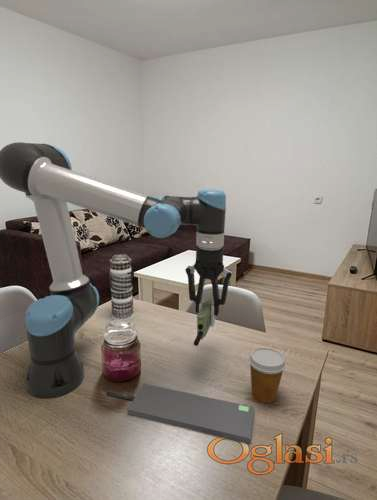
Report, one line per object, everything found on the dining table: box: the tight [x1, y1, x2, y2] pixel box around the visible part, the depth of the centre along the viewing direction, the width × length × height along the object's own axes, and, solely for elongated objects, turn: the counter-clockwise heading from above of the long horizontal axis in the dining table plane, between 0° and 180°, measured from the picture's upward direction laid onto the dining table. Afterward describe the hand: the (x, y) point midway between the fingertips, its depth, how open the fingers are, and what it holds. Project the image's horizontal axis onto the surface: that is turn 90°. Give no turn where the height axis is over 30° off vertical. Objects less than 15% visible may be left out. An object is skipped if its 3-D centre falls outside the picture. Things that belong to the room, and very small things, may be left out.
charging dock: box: [106, 383, 255, 444], centre depth 83 cm, size 38×10×2 cm, turn 74°
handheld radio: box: [193, 288, 214, 347], centre depth 96 cm, size 7×3×25 cm
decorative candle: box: [108, 253, 134, 321], centre depth 128 cm, size 9×9×25 cm
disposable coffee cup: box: [248, 346, 287, 404], centre depth 87 cm, size 10×10×12 cm
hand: (206, 323), depth 97 cm, fingers closed on handheld radio, 3 cm apart
